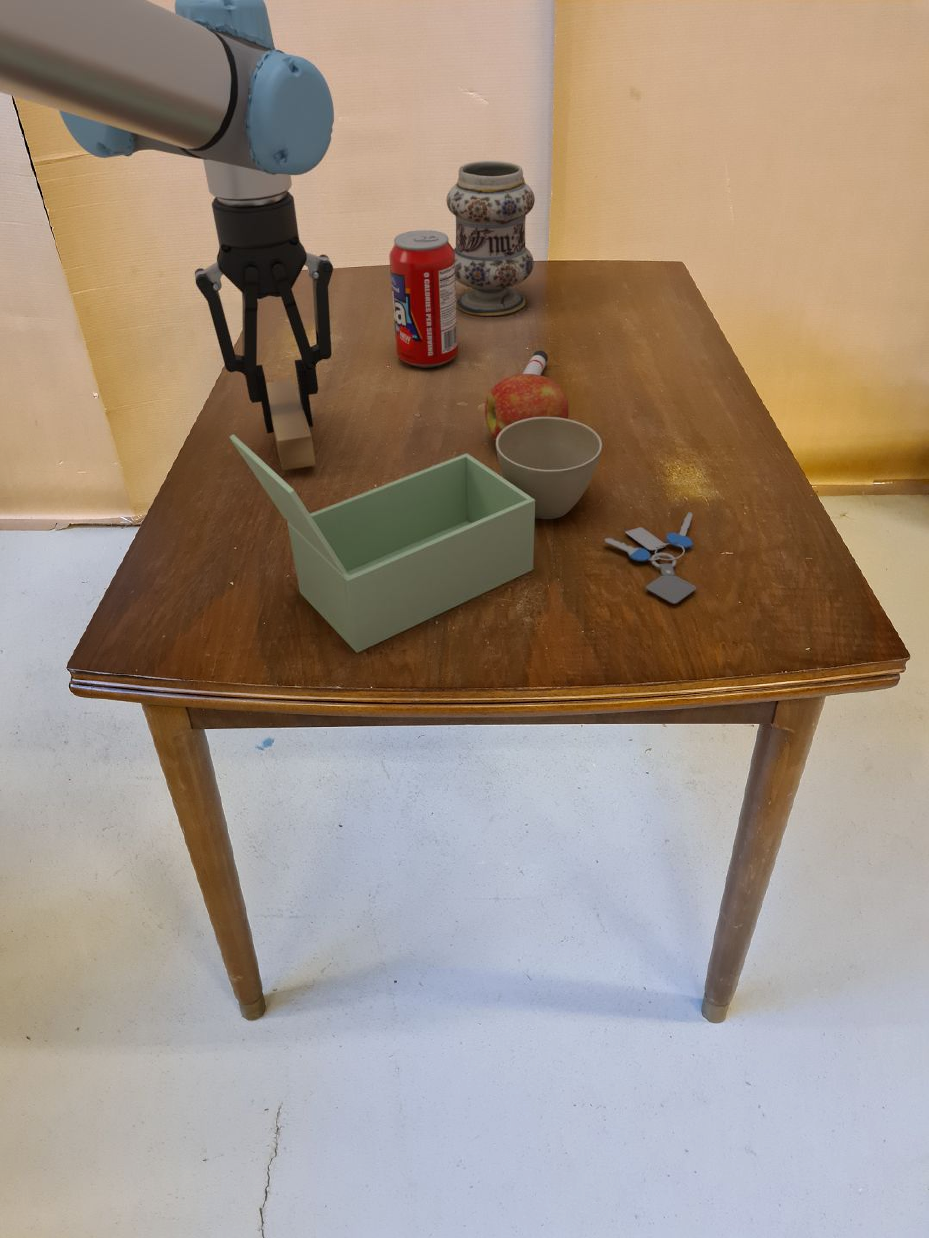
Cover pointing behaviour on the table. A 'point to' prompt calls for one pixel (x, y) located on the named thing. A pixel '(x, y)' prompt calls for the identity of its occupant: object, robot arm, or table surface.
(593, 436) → the flower pot
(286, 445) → the birch block
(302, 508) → the flap
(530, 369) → the marker
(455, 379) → the table surface
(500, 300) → the apothecary jar
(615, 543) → the key chain
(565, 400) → the apple
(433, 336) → the soda can
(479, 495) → the carton
